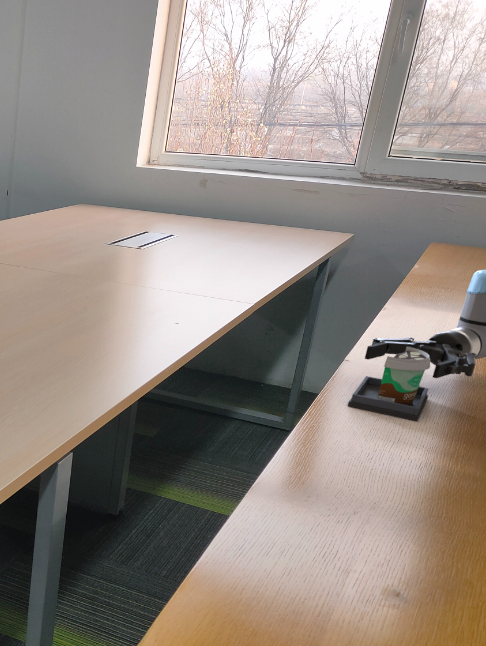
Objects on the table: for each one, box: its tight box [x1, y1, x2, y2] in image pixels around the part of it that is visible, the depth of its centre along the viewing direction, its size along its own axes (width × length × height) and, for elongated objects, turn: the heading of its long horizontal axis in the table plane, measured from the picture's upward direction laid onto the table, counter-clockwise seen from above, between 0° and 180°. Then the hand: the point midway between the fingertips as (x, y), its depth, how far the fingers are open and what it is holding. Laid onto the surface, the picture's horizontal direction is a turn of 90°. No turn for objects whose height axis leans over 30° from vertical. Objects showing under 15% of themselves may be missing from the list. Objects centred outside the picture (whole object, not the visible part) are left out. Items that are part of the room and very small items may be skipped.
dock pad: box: [347, 375, 429, 422], centre depth 164 cm, size 12×16×2 cm
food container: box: [378, 347, 431, 406], centre depth 160 cm, size 12×6×10 cm, turn 133°
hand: (400, 361), depth 161 cm, fingers open, 13 cm apart
